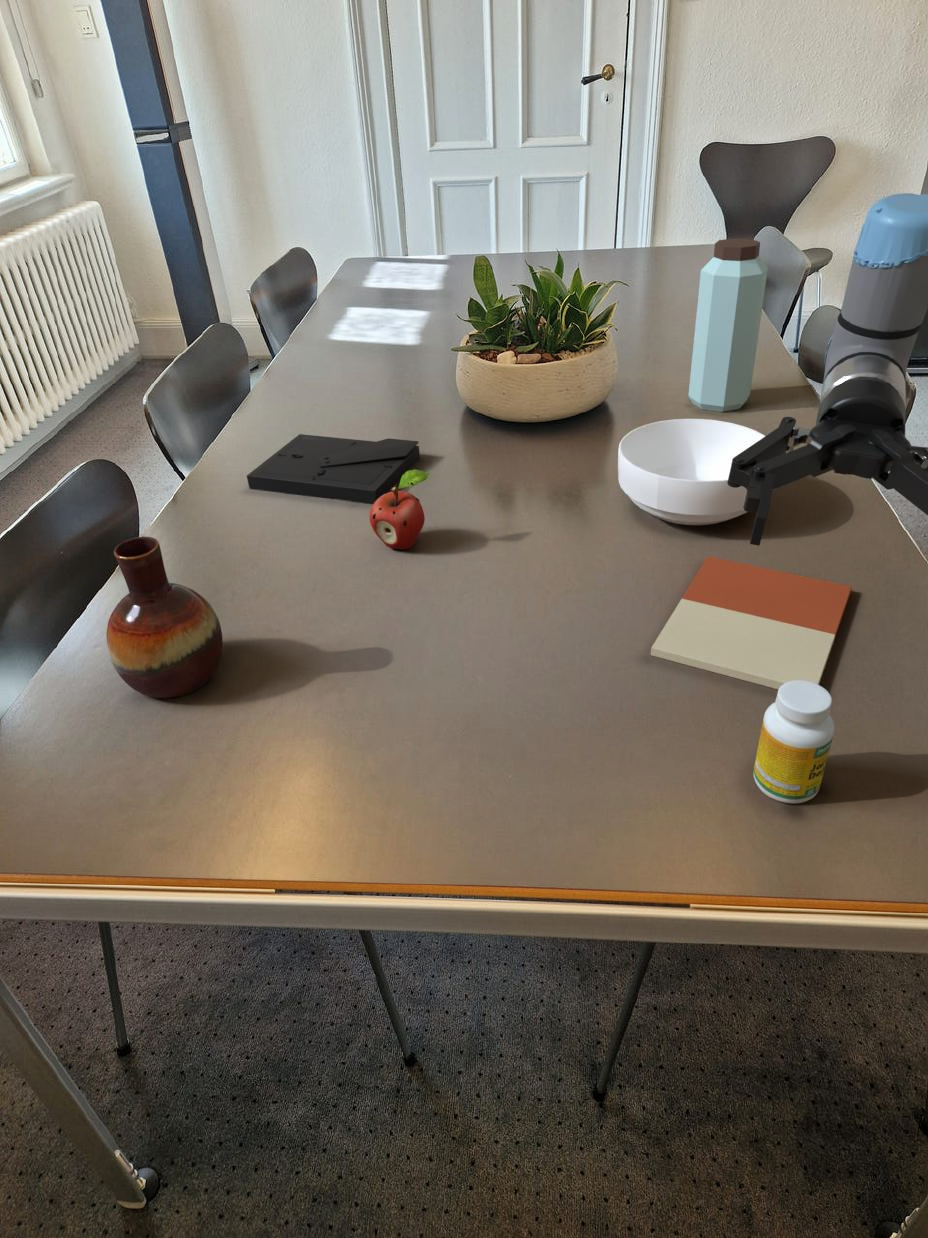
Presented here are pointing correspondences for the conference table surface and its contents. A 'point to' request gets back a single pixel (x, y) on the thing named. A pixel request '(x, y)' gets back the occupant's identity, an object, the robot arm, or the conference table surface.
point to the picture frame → (336, 467)
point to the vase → (160, 627)
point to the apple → (399, 513)
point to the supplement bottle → (794, 742)
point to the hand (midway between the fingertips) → (848, 549)
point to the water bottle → (727, 325)
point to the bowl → (684, 469)
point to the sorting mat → (754, 624)
